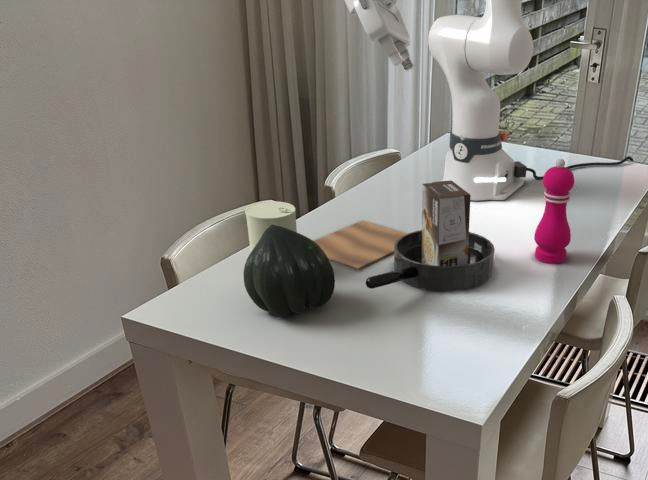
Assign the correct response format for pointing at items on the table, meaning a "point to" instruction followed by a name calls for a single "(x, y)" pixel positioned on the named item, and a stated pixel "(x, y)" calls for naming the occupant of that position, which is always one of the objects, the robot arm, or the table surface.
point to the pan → (445, 276)
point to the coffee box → (445, 224)
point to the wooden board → (359, 244)
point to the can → (268, 218)
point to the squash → (288, 272)
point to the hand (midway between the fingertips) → (404, 66)
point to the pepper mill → (554, 215)
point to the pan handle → (391, 277)
